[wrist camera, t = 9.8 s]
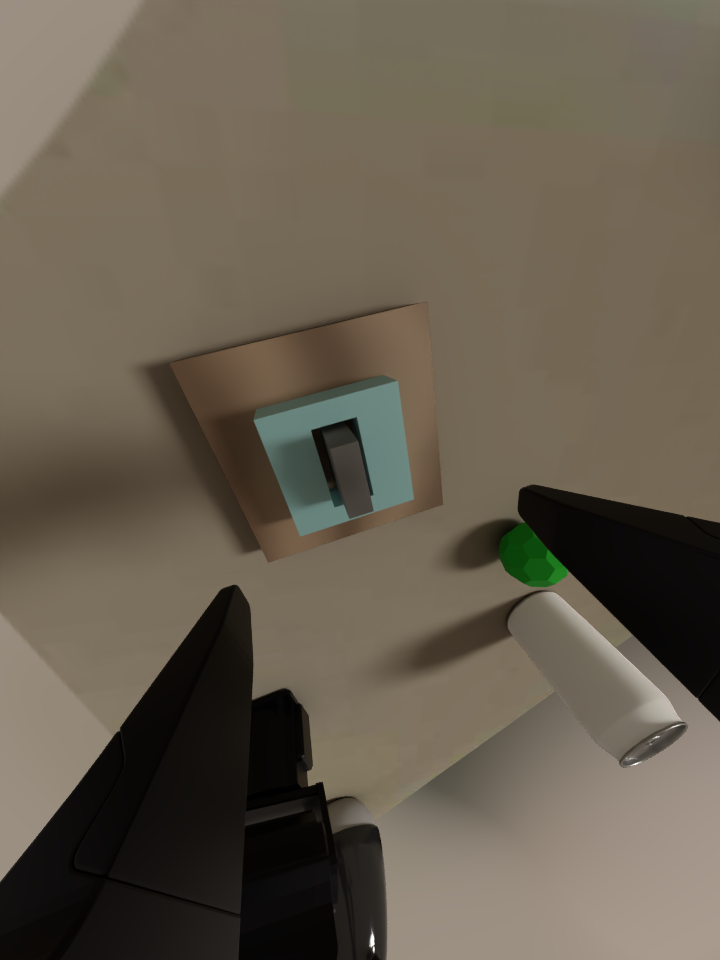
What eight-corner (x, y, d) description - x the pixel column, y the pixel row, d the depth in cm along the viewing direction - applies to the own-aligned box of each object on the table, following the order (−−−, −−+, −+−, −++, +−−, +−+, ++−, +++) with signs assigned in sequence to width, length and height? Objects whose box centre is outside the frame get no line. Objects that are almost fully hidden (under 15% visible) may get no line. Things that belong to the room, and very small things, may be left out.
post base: (268, 547, 20) (266, 616, 15) (179, 360, 14) (128, 376, 9) (432, 493, 21) (478, 541, 16) (414, 303, 15) (477, 292, 11)
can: (496, 635, 32) (601, 779, 22) (517, 592, 29) (647, 733, 19) (543, 627, 34) (660, 757, 24) (566, 585, 31) (710, 712, 21)
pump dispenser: (385, 785, 43) (432, 982, 30) (347, 821, 46) (375, 1016, 33) (327, 788, 39) (353, 1021, 26) (288, 827, 42) (294, 1057, 28)
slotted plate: (297, 516, 17) (300, 536, 16) (256, 409, 14) (253, 420, 12) (401, 483, 18) (414, 499, 17) (383, 374, 15) (397, 380, 13)
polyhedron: (484, 527, 24) (527, 567, 20) (536, 502, 24) (589, 537, 20) (490, 566, 27) (530, 609, 22) (538, 543, 27) (585, 582, 23)
